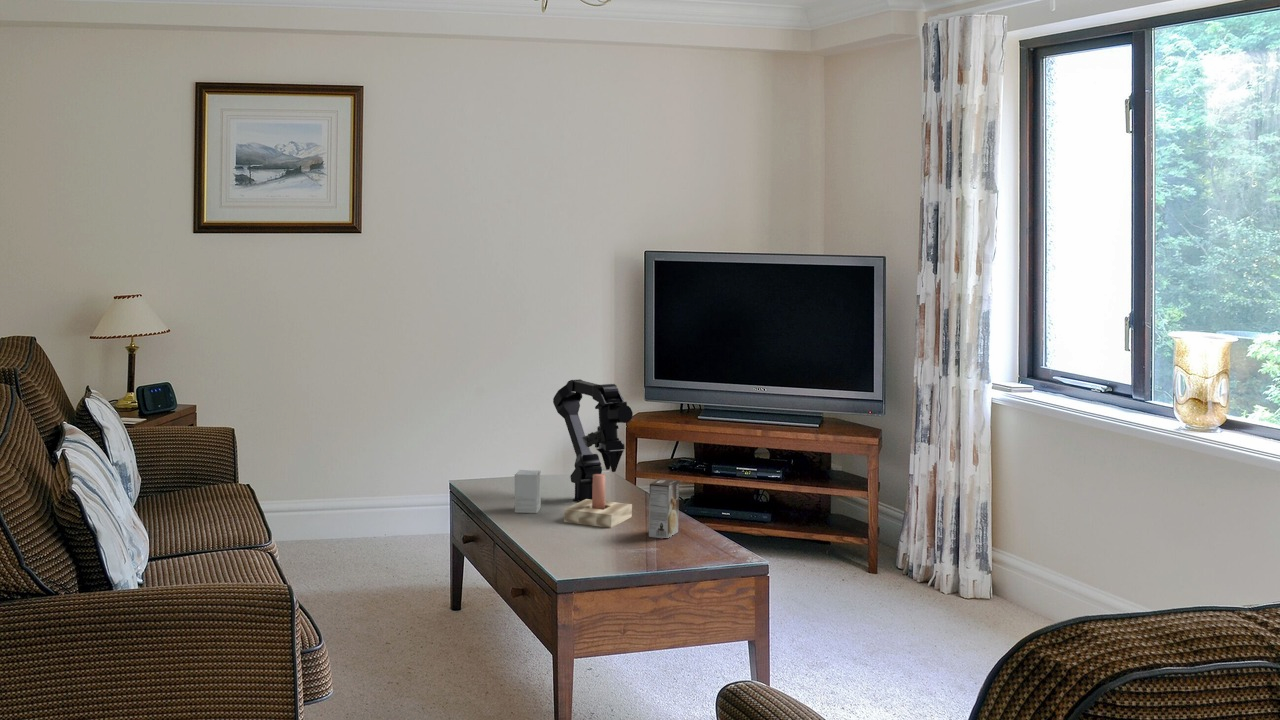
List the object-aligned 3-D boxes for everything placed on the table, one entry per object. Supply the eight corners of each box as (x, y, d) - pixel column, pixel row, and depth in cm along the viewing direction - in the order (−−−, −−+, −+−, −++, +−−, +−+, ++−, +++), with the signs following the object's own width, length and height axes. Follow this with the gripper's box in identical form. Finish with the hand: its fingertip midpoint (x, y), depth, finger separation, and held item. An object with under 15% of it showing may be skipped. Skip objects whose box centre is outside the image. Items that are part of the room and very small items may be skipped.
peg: (589, 519, 341) (590, 475, 340) (597, 517, 344) (598, 473, 343) (598, 521, 339) (599, 477, 338) (607, 519, 342) (608, 475, 341)
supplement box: (541, 508, 354) (541, 470, 353) (536, 513, 347) (537, 474, 346) (518, 507, 355) (519, 469, 354) (513, 512, 348) (514, 473, 347)
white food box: (658, 529, 330) (660, 477, 329) (678, 532, 328) (680, 479, 326) (647, 537, 322) (649, 483, 320) (668, 539, 319) (669, 485, 318)
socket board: (563, 521, 337) (564, 509, 337) (586, 511, 352) (586, 498, 352) (611, 527, 331) (611, 515, 331) (631, 516, 346) (632, 504, 346)
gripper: (578, 423, 362) (581, 470, 362) (589, 425, 343) (591, 475, 343) (611, 421, 364) (613, 467, 364) (623, 423, 346) (626, 472, 346)
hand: (610, 470), depth 354 cm, fingers open, 9 cm apart
